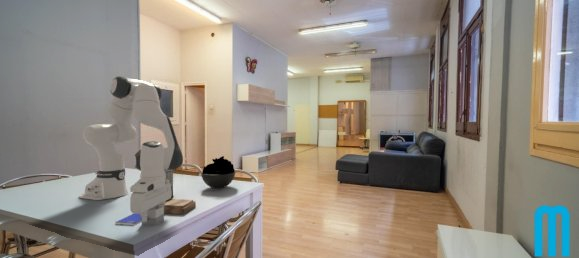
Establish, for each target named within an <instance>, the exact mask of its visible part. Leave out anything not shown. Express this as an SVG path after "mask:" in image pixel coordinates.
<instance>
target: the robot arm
mask: <svg viewBox="0 0 579 258" xmlns="http://www.w3.org/2000/svg"><path fill="white" fill-rule="evenodd" d="M109 88H110V93H111V95H112V96H113V97H112V98H111V101H110V104H109V107H108V109H107V116H108V118H109V119H111V121H113V122H112V123H97V124H91V125H88V126H86V127H85V128H84V129H83V131H82V138H83V141H85V143H86V144H87V145H90V146H91V147H92V148H93V149H94V150H95V151H96V154H97V156H98V163H99V165H98V166H99V169H98V171H96V172H94V175H96V177H95V178H93V179H92V180H90V182H88V183H87V184H86V185H85V187H84V193H81V194H80V195H78V198H80V199H86V200H93V201H101V200H102V201H103V200H108V199H115V198H120V197H123V196H126V195H128V194H129V191H128V189H127V188H128V187H127V184H126V177H125V176H126V168H125V156H124V154H123V153H122V152H121V151H119V150H116V148H115V145H117V144H118V145H119V144H126V143H130V142H133V141H135V140H136V138H137V135H138V133H137V129H136V127H135V126H134V125H133V124H132V118H133V117H134V118H135V120H136V121H137V122H139V123H141V124H142V125H144V126H147V127H152V128H154V129H157V130H158V131H161V132H162V133H163V135H164V139H165V142H166V145H167V147H165V146H164V143H162V142H160V141H146V142H143V143H142V144H141V147H140V150H138V151H137V152H136V153H135V154H134V157H135V163H134V164H135V165H134V168H135V169H136V170H139V171H140V175H139V178H140V179H138V180H137V181H136V182H135V183H134V184H132V185H131V186H130V187H129V190H130V193H131V195H130V204H129V208H130V212H131V213H132V214H134V213H135V214H140V215H141V216H142V221H143V222H146V221H148V220H149V216H147V214H146V213H147V210H149V209H151V208H153V207H154V206H165V203H166V202H167V201H166V200H168V199H170V198H171V196H172V190H171V184H170V183H169V179H167V178H165V171H164V170H167V169H168V170H173V171H174V170H175V171H176V170H177V169H179V168H180V167H181V166H182V165H183V161H184V156H183V153H182V150H181V148H180V145H179V143H178V139H177V135H176V133H175V132H176V131H175V130H174V127H173V123H172V121H171V118H170V117H169V116H168V115H166V114H165V113H164V112H163V111H162V109H161V102H160V101H161V99H162V95H163V94H162V88H161V87H160V86H158V85H156V84H154V83H150V82H147V81H144V80H140V79H136V78H129V77H125V76H116V77H114V78H113V79H112V81H111V83H110V87H109ZM142 221H141V222H142Z"/></svg>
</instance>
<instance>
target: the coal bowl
mask: <svg viewBox="0 0 579 258" xmlns="http://www.w3.org/2000/svg"><path fill="white" fill-rule="evenodd" d="M200 174H201V178H202V180H203V182H204V183H205V184H206V185H207V186H208V187H209V188H212V189H216V190H217V189H223V188H225V187H227V186H229V185H230V184H231V183H232V181H233V180H234V179H235V176H236V170H235V167H234V164H233V163H232V161H231V160H228V159H227V158H225V156H224V155H222V156H220V157H219V158H217V157H216V158H213V159H212V163H209V164H207V165H205V166H204V167H203V169H202V171H201V173H200Z"/></svg>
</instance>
